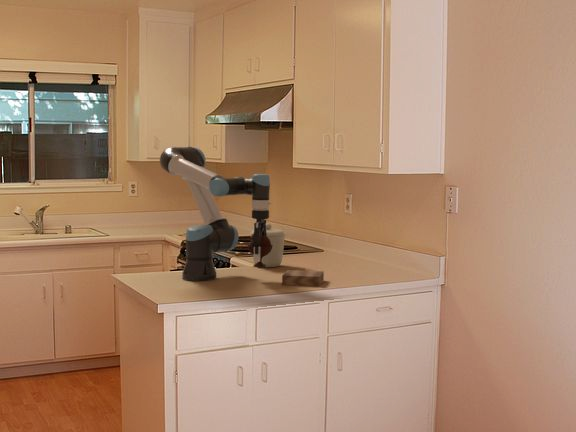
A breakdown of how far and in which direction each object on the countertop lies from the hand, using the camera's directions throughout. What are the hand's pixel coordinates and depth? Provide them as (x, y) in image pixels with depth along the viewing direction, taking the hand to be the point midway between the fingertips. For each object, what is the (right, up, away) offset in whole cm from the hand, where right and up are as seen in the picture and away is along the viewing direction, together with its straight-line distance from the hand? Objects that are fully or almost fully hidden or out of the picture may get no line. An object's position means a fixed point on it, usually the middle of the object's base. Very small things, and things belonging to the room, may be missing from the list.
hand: (259, 259), depth 338 cm
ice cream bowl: (0, -3, 0) cm, 3 cm away
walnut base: (+19, -10, -3) cm, 22 cm away
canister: (+2, -6, +42) cm, 42 cm away
